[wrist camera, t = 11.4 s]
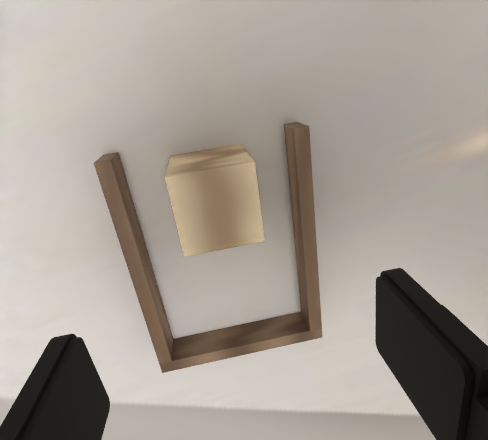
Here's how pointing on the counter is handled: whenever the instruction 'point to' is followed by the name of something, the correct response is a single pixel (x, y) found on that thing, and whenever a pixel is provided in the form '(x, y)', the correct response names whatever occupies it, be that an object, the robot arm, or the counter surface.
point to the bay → (236, 337)
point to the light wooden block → (215, 199)
